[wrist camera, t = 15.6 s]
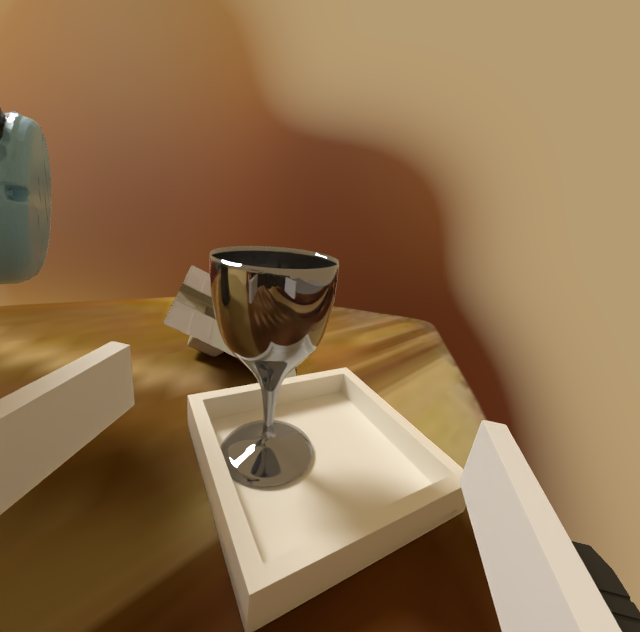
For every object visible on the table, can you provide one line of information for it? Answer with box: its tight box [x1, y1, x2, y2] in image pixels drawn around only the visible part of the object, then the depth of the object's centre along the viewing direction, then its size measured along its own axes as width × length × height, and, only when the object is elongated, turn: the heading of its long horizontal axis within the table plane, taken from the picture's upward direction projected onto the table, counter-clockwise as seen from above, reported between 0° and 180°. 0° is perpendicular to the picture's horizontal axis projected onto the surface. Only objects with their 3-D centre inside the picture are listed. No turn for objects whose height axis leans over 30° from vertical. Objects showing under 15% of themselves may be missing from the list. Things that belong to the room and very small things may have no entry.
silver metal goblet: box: [210, 246, 339, 487], centre depth 23 cm, size 8×8×15 cm
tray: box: [188, 368, 466, 632], centre depth 25 cm, size 16×16×3 cm
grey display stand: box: [164, 265, 296, 378], centre depth 41 cm, size 16×9×15 cm
